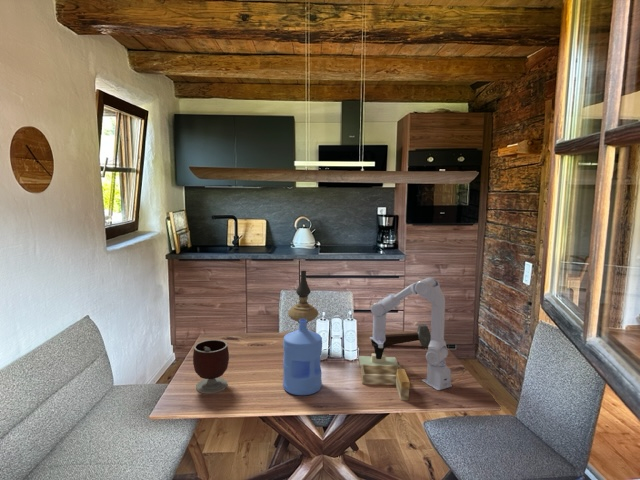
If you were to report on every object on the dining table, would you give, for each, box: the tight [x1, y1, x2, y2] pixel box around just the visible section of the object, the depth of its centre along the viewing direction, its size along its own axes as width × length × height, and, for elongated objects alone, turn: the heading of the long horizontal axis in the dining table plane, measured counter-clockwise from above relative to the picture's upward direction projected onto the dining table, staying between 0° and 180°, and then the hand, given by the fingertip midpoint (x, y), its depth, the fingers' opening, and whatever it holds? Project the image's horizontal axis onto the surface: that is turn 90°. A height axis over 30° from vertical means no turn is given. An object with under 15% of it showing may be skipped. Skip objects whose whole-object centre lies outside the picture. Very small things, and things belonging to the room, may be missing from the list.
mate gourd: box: [192, 339, 230, 395], centre depth 162 cm, size 16×14×20 cm
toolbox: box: [360, 364, 410, 401], centre depth 166 cm, size 17×22×5 cm
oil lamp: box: [287, 270, 320, 330], centre depth 199 cm, size 15×15×40 cm
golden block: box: [397, 368, 411, 389], centre depth 159 cm, size 3×11×2 cm, turn 179°
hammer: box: [370, 323, 431, 348], centre depth 209 cm, size 5×11×30 cm
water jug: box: [282, 319, 323, 396], centre depth 163 cm, size 16×16×28 cm
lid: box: [358, 352, 399, 369], centre depth 185 cm, size 17×10×5 cm, turn 89°
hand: (378, 357), depth 185 cm, fingers closed on lid, 3 cm apart
